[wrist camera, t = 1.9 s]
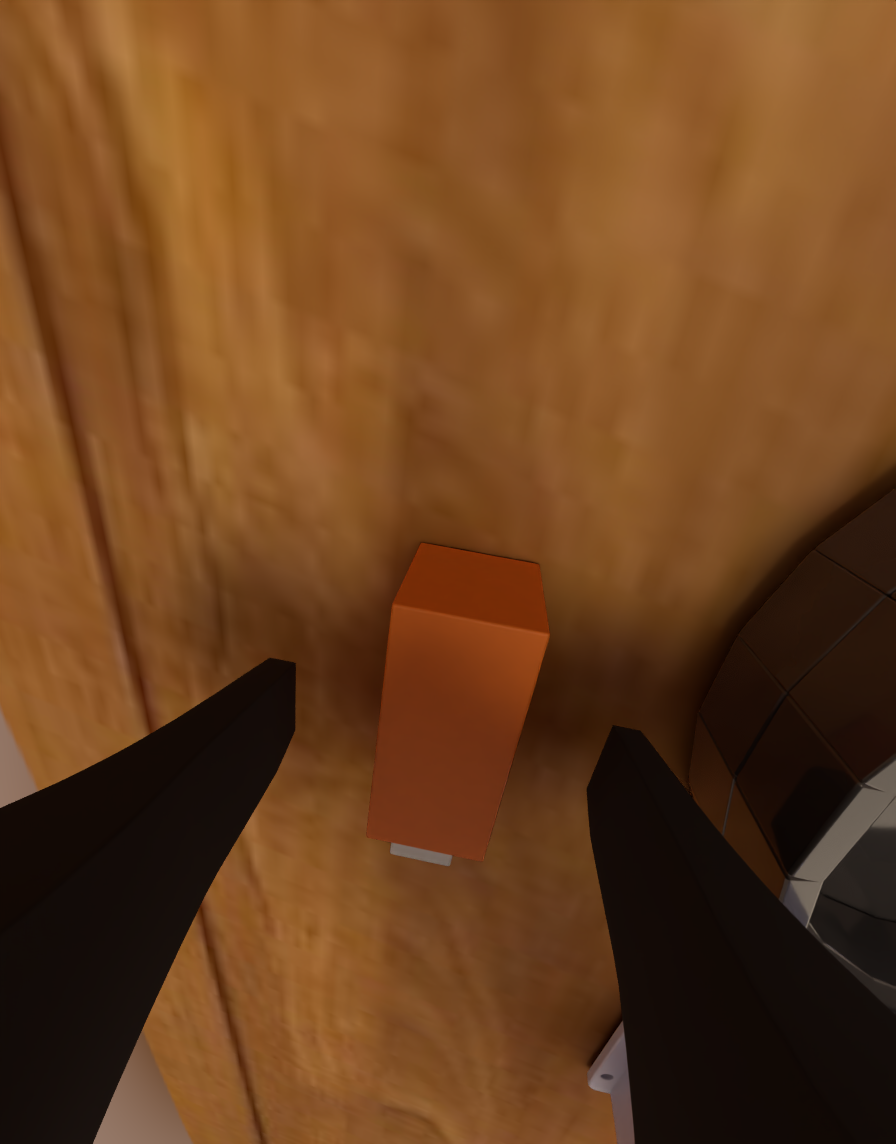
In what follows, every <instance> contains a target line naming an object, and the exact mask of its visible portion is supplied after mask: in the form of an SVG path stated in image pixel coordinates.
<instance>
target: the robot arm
mask: <svg viewBox="0 0 896 1144" xmlns="http://www.w3.org/2000/svg"><path fill="white" fill-rule="evenodd" d="M295 691H296V663H294V662H289V661H284V660H279V659H274V658H268V659H267V660H265V661H264V662H262V663H261V664H259V665H258V666H256V667H255V668H253V669H252V670H250V671H249V672H247V673H246V674H244V675H243V676H241V677H240V678H238V679H237V680H235V681H234V682H232V683H231V684H229V685H228V686H226V687H225V688H223V689H222V690H220V691H219V692H217V693H216V694H214V695H213V696H211V697H209V698H208V699H206V700H205V701H203V702H202V703H200V704H199V705H197V706H195V707H194V708H192V709H191V710H189V711H188V712H186V713H184V714H183V715H181V716H180V717H178V718H176V719H175V720H173V721H171V722H170V723H168V724H166V725H165V726H163V727H161V728H160V729H158V730H156V731H154V732H153V733H151V734H149V735H148V736H146V737H144V738H143V739H141V740H139V741H138V742H136V743H134V744H132V745H130V746H129V747H127V748H125V749H123V750H121V751H119V752H118V753H116V754H114V755H112V756H110V757H108V758H106V759H104V760H102V761H100V762H98V763H96V764H94V765H92V766H90V767H88V768H86V769H84V770H82V771H80V772H78V773H76V774H74V775H73V776H70V777H68V778H66V779H64V780H62V781H60V782H58V783H56V784H53V785H51V786H49V787H47V788H44V789H42V790H40V791H38V792H35V793H33V794H31V795H29V796H27V797H24V798H22V799H20V800H18V801H15V802H13V803H11V804H8V805H6V806H4V807H2V808H0V1144H93V1142H94V1139H95V1137H96V1135H97V1132H98V1130H99V1128H100V1125H101V1123H102V1120H103V1118H104V1116H105V1113H106V1111H107V1108H108V1106H109V1104H110V1102H111V1099H112V1097H113V1094H114V1092H115V1090H116V1087H117V1085H118V1083H119V1081H120V1078H121V1076H122V1074H123V1071H124V1069H125V1067H126V1064H127V1062H128V1060H129V1058H130V1056H131V1054H132V1051H133V1049H134V1047H135V1045H136V1042H137V1040H138V1038H139V1035H140V1033H141V1031H142V1029H143V1027H144V1024H145V1022H146V1020H147V1018H148V1015H149V1013H150V1011H151V1009H152V1006H153V1004H154V1002H155V1000H156V998H157V996H158V994H159V991H160V989H161V987H162V985H163V983H164V981H165V978H166V976H167V974H168V972H169V970H170V968H171V966H172V963H173V961H174V959H175V957H176V955H177V953H178V950H179V948H180V946H181V944H182V942H183V940H184V938H185V936H186V934H187V932H188V930H189V928H190V926H191V924H192V921H193V919H194V917H195V915H196V913H197V911H198V909H199V907H200V905H201V903H202V901H203V899H204V897H205V895H206V893H207V891H208V889H209V887H210V886H211V884H212V882H213V880H214V878H215V876H216V875H217V873H218V871H219V869H220V867H221V866H222V864H223V862H224V861H225V859H226V857H227V856H228V854H229V852H230V851H231V849H232V847H233V846H234V844H235V842H236V840H237V839H238V837H239V835H240V834H241V832H242V830H243V829H244V827H245V825H246V824H247V822H248V820H249V819H250V817H251V815H252V813H253V812H254V810H255V808H256V807H257V805H258V803H259V802H260V800H261V798H262V796H263V795H264V793H265V791H266V790H267V788H268V786H269V784H270V783H271V781H272V779H273V778H274V776H275V774H276V772H277V770H278V768H279V766H280V764H281V761H282V759H283V757H284V755H285V753H286V750H287V748H288V746H289V743H290V741H291V739H292V736H293V734H294V732H295ZM587 801H588V816H589V827H590V837H591V843H592V848H593V853H594V859H595V864H596V869H597V874H598V879H599V884H600V889H601V894H602V899H603V904H604V909H605V914H606V919H607V924H608V929H609V934H610V939H611V944H612V949H613V954H614V960H615V966H616V972H617V978H618V984H619V992H620V1001H621V1010H622V1019H623V1021H622V1022H621V1024H620V1025H619V1026H618V1028H617V1029H616V1031H615V1032H614V1034H613V1035H612V1037H611V1038H610V1040H609V1041H608V1043H607V1044H606V1046H605V1047H604V1049H603V1050H602V1052H601V1053H600V1055H599V1056H598V1057H597V1059H596V1060H595V1062H594V1063H593V1065H592V1066H591V1068H590V1069H589V1071H588V1072H587V1079H588V1085H589V1086H590V1087H591V1088H592V1089H594V1090H597V1091H601V1092H605V1093H610V1094H611V1101H612V1108H613V1115H614V1122H615V1129H616V1137H617V1144H896V1014H894V1013H893V1012H892V1011H891V1010H890V1009H889V1008H888V1007H887V1006H886V1005H885V1004H884V1003H883V1002H882V1001H881V1000H879V999H878V998H877V997H876V996H875V995H874V994H873V993H872V992H871V991H870V990H869V989H868V988H867V987H866V986H865V985H864V984H863V983H861V982H860V981H859V980H858V979H857V978H856V977H855V976H854V975H853V974H852V973H851V972H850V971H849V970H848V969H847V968H846V967H845V966H843V965H842V964H841V963H840V962H839V961H838V960H837V959H836V958H835V957H834V956H833V955H832V954H831V953H830V952H829V951H828V950H827V949H826V948H825V947H824V946H823V945H822V944H821V943H820V942H819V941H818V940H817V939H816V938H815V937H814V936H813V935H812V934H811V933H810V932H809V930H808V929H807V928H806V927H805V926H804V925H803V924H802V923H801V922H800V921H799V920H798V919H797V918H796V917H795V916H794V915H793V914H792V913H791V912H790V911H789V910H788V909H787V908H786V907H785V906H784V905H783V903H782V902H781V901H780V900H779V899H778V898H777V897H776V896H775V895H774V894H773V893H772V892H771V891H770V889H769V888H768V887H767V886H766V885H765V884H764V883H763V882H762V881H761V880H760V878H759V877H758V876H757V875H756V874H755V873H754V872H753V870H752V869H751V868H750V867H749V866H748V865H747V864H746V862H745V861H744V860H743V859H742V858H741V857H740V855H739V854H738V853H737V852H736V851H735V850H734V849H733V847H732V846H731V845H730V844H729V843H728V841H727V840H726V839H725V838H724V837H723V835H722V834H721V833H720V832H719V831H718V829H717V828H716V827H715V826H714V825H713V823H712V822H711V821H710V820H709V818H708V817H707V816H706V815H705V813H704V812H703V811H702V810H701V808H700V807H699V806H698V805H697V803H696V802H695V801H694V799H693V798H692V797H691V796H690V794H689V793H688V792H687V790H686V789H685V788H684V787H683V785H682V784H681V783H680V781H679V780H678V779H677V777H676V776H675V775H674V773H673V772H672V771H671V770H670V768H669V767H668V766H667V764H666V763H665V762H664V760H663V759H662V758H661V756H660V755H659V754H658V752H657V751H656V750H655V748H654V747H653V746H652V744H651V743H650V742H649V741H648V739H647V738H646V737H645V736H644V734H643V733H642V732H641V731H640V730H635V729H630V728H624V727H619V726H614V725H613V726H612V729H611V731H610V733H609V736H608V738H607V741H606V743H605V746H604V748H603V750H602V753H601V755H600V758H599V760H598V762H597V765H596V767H595V770H594V772H593V775H592V777H591V779H590V782H589V784H588V787H587Z"/></svg>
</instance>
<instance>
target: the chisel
mask: <svg viewBox="0 0 896 1144" xmlns="http://www.w3.org/2000/svg"><path fill="white" fill-rule="evenodd" d="M549 637H550V632H549V625H548V619H547V612H546V605H545V599H544V592H543V586H542V579H541V572H540V566H539V565H538V564H534V563H529V562H524V561H518V560H513V559H507V558H502V557H497V556H491V555H486V554H481V553H475V552H470V551H464V550H459V549H454V548H448V547H443V546H437V545H432V544H427V543H421V544H420V546H419V548H418V550H417V552H416V554H415V556H414V559H413V561H412V563H411V565H410V567H409V569H408V572H407V574H406V576H405V578H404V580H403V582H402V584H401V587H400V589H399V591H398V593H397V595H396V597H395V600H394V602H393V604H392V608H391V617H390V626H389V635H388V644H387V653H386V662H385V671H384V680H383V689H382V698H381V707H380V716H379V725H378V734H377V743H376V752H375V761H374V770H373V779H372V788H371V797H370V805H369V814H368V823H367V832H366V836H367V837H368V838H372V839H377V840H382V841H386V842H391V847H390V853H391V854H394V855H398V856H403V857H408V858H412V859H417V860H422V861H426V862H431V863H436V864H440V865H445V866H450V864H451V860H452V856H457V857H461V858H466V859H471V860H475V861H480V862H482V861H483V860H484V857H485V853H486V850H487V847H488V843H489V840H490V837H491V833H492V830H493V826H494V823H495V820H496V816H497V813H498V810H499V806H500V803H501V799H502V796H503V793H504V789H505V786H506V782H507V779H508V776H509V772H510V769H511V766H512V762H513V759H514V755H515V752H516V749H517V745H518V742H519V739H520V735H521V732H522V728H523V725H524V722H525V718H526V715H527V712H528V708H529V705H530V701H531V698H532V695H533V691H534V688H535V685H536V681H537V678H538V674H539V671H540V668H541V664H542V661H543V658H544V654H545V651H546V647H547V644H548V641H549Z"/></svg>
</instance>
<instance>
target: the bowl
mask: <svg viewBox="0 0 896 1144" xmlns="http://www.w3.org/2000/svg"><path fill="white" fill-rule="evenodd" d="M689 780H690V781H689V783H690V787H691V791H692V795H693V799H694V801H695V802H696V803H697V805H698V806H699V807H700V808H701V810H702V811H703V812H704V813H705V815H706V816H707V817H708V818H709V820H710V821H711V822H712V823H713V825H714V826H715V827H716V828H717V829H718V831H719V832H720V833H721V834H722V835H723V837H724V838H725V839H726V840H727V841H728V843H729V844H730V845H731V846H732V847H733V849H734V850H735V851H736V852H737V853H738V854H739V855H740V857H741V858H742V859H743V860H744V861H745V862H746V864H747V865H748V866H749V867H750V868H751V869H752V870H753V872H754V873H755V874H756V875H757V876H758V877H759V878H760V880H761V881H762V882H763V883H764V884H765V885H766V886H767V887H768V888H769V889H770V891H771V892H772V893H773V894H774V895H775V896H776V897H777V898H778V899H779V900H780V901H781V902H782V903H783V905H784V906H785V907H786V908H787V909H788V910H789V911H790V912H791V913H792V914H793V915H794V916H795V917H796V918H797V919H798V920H799V921H800V922H801V923H802V924H803V925H804V926H805V927H806V928H807V929H808V930H809V932H810V933H811V934H812V935H813V936H814V937H815V938H816V939H817V940H818V941H819V942H820V943H821V944H822V945H823V946H824V947H825V948H826V949H827V950H828V951H829V952H830V953H831V954H832V955H833V956H834V957H835V958H836V959H837V960H838V961H839V962H840V963H841V964H842V965H843V966H845V967H846V968H847V969H848V970H849V971H850V972H851V973H852V974H853V975H854V976H855V977H856V978H857V979H858V980H859V981H860V982H861V983H863V984H864V985H865V986H866V987H867V988H868V989H869V990H870V991H871V992H872V993H873V994H874V995H875V996H876V997H877V998H878V999H879V1000H881V1001H882V1002H883V1003H884V1004H885V1005H886V1006H887V1007H888V1008H889V1009H890V1010H891V1011H892V1012H893V1013H894V1014H896V488H894V489H893V490H892V491H890V492H889V493H888V494H886V495H885V496H884V497H882V498H881V499H880V500H878V501H877V502H876V503H874V504H873V505H872V506H870V507H869V508H868V509H866V510H865V511H864V512H862V513H861V514H860V515H858V516H857V517H856V518H854V519H853V520H852V521H850V522H849V523H847V524H846V525H845V526H843V527H842V528H841V529H839V530H838V531H837V532H835V533H834V534H833V535H831V536H830V537H829V538H827V539H826V540H825V541H823V542H822V543H821V544H819V545H818V546H817V547H816V548H815V550H812V551H811V552H810V553H809V554H808V555H807V556H806V557H805V559H804V560H803V561H802V562H801V563H800V564H799V565H798V566H797V568H796V569H795V570H794V571H793V572H792V573H791V574H790V575H789V577H788V578H787V579H786V580H785V581H784V582H783V583H782V584H781V586H780V587H779V588H778V589H777V590H776V591H775V592H774V593H773V595H772V596H771V597H770V598H769V599H768V600H767V601H766V602H765V603H764V605H763V606H762V607H761V608H760V609H759V610H758V611H757V612H756V614H755V615H754V616H753V617H752V618H751V619H750V620H749V621H748V623H747V624H746V625H745V626H744V627H743V628H742V629H741V630H740V632H739V635H738V636H737V637H736V639H735V641H734V643H733V645H732V647H731V649H730V651H729V653H728V655H727V657H726V658H725V660H724V662H723V664H722V666H721V668H720V670H719V672H718V674H717V676H716V678H715V680H714V682H713V684H712V686H711V688H710V690H709V692H708V694H707V696H706V698H705V700H704V702H703V704H702V706H701V707H700V711H699V712H698V716H697V722H696V729H695V736H694V743H693V750H692V757H691V764H690V771H689Z"/></svg>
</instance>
